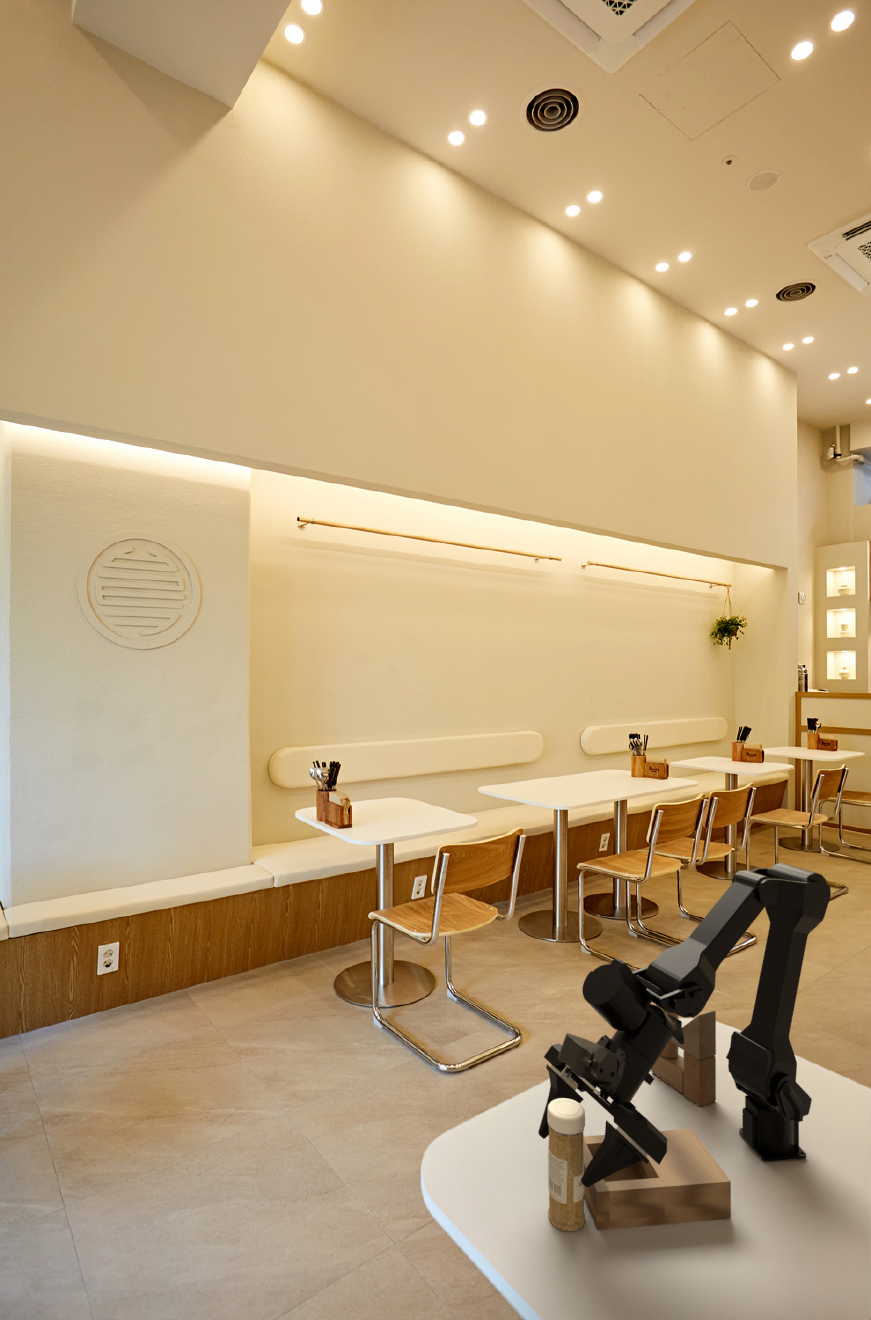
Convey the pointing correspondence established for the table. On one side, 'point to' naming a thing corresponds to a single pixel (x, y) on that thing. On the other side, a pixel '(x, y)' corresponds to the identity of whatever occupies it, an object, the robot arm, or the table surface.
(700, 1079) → the wooden block
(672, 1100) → the table surface
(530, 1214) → the table surface
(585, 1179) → the robot arm
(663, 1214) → the wooden bottle holder
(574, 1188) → the sprinkles bottle
